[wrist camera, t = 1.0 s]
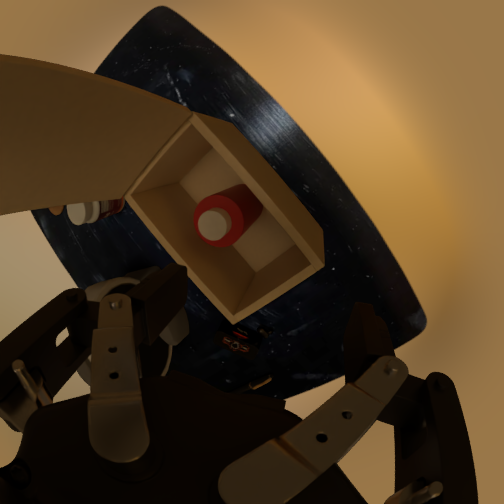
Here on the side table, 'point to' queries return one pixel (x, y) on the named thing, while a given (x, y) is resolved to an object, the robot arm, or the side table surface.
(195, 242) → the box
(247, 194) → the sauce bottle
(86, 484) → the robot arm
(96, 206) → the pill bottle
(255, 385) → the fountain pen
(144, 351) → the alarm clock
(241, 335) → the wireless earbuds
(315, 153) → the side table surface
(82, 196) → the breadbox lid
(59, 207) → the coaster
